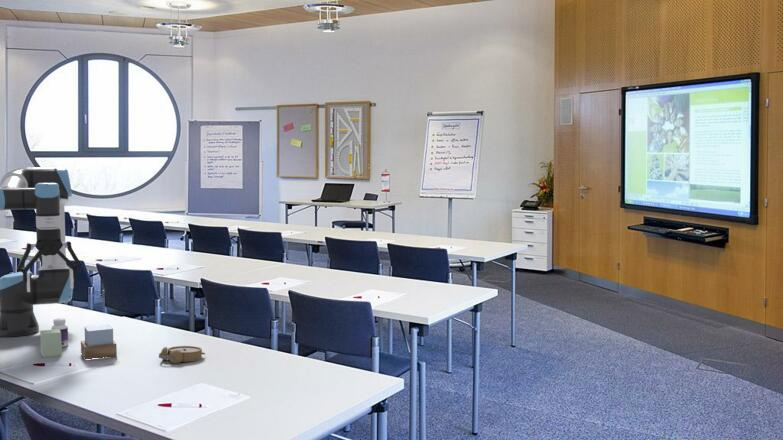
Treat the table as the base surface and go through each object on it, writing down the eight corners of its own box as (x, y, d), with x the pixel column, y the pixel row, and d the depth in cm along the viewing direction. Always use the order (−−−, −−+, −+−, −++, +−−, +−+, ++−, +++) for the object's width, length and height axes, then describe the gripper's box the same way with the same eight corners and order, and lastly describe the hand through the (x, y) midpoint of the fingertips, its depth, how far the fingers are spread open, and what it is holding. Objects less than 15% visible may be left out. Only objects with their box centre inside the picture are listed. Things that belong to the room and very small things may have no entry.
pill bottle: (71, 344, 274) (70, 318, 273) (63, 348, 269) (62, 321, 268) (57, 344, 275) (56, 317, 274) (49, 347, 269) (48, 320, 269)
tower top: (84, 341, 260) (84, 326, 259) (109, 338, 264) (109, 324, 263) (88, 346, 253) (87, 331, 252) (113, 343, 257) (113, 328, 256)
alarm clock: (209, 350, 255) (171, 350, 244) (207, 364, 255) (169, 365, 244) (190, 344, 263) (152, 345, 251) (188, 358, 262) (150, 359, 251)
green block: (41, 353, 261) (40, 330, 261) (59, 351, 264) (59, 328, 264) (42, 357, 256) (41, 334, 256) (61, 355, 259) (61, 332, 258)
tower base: (81, 355, 260) (80, 340, 260) (111, 351, 265) (111, 337, 265) (85, 361, 252) (84, 347, 251) (116, 358, 257) (116, 343, 256)
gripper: (8, 230, 247) (10, 294, 249) (89, 227, 260) (90, 288, 262) (6, 228, 254) (9, 291, 256) (85, 225, 266) (87, 285, 268)
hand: (50, 289), depth 259 cm, fingers open, 13 cm apart
